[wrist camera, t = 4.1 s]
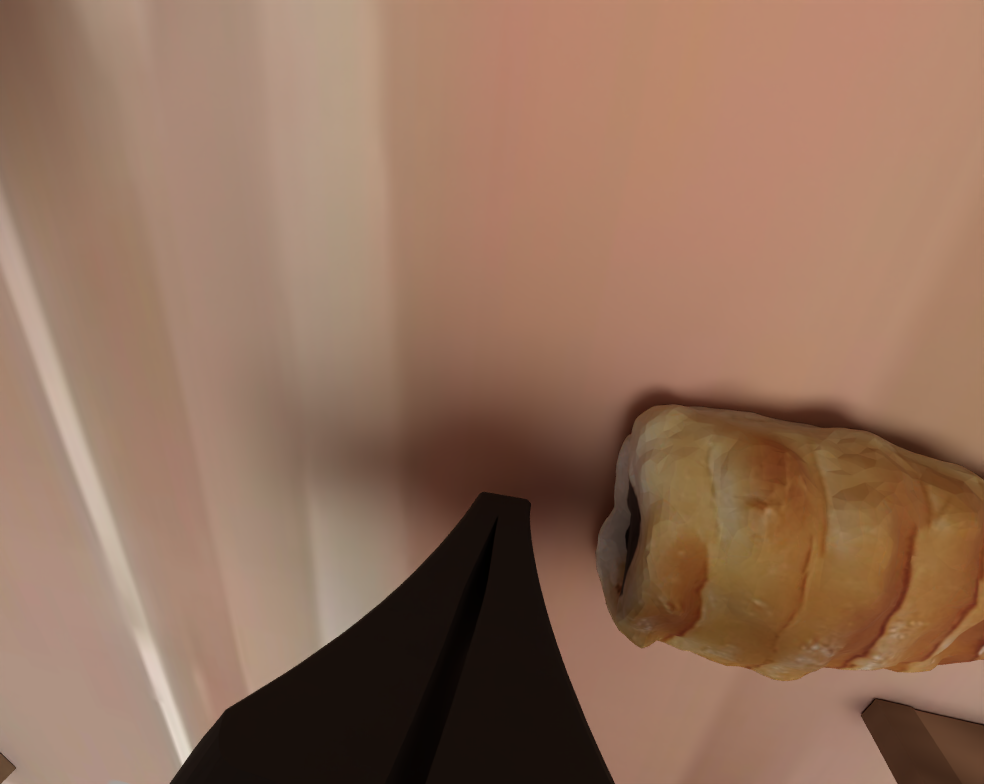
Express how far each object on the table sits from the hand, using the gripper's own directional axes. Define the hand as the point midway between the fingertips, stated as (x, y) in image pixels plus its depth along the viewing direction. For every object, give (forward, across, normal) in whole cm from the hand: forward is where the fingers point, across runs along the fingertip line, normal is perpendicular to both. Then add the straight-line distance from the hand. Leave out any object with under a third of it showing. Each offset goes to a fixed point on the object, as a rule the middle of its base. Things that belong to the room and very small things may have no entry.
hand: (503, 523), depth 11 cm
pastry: (+2, -7, -1) cm, 7 cm away
